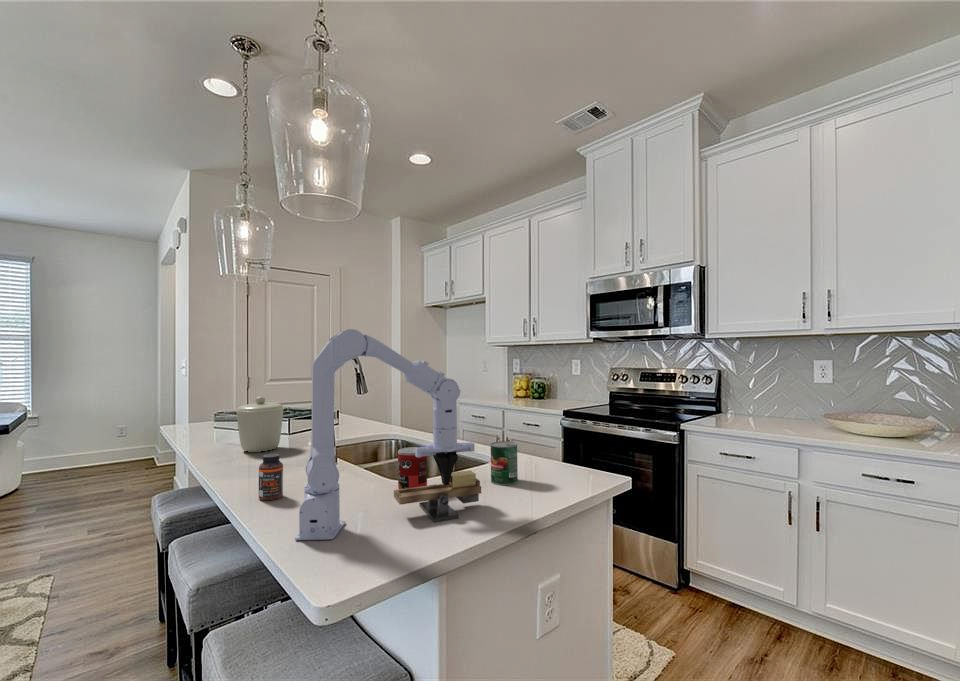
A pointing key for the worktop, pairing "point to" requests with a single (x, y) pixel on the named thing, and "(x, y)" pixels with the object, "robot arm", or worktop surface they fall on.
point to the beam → (437, 493)
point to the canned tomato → (504, 463)
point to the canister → (259, 425)
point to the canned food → (411, 469)
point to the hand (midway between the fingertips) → (445, 483)
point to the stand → (439, 509)
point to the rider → (462, 479)
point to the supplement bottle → (270, 478)
